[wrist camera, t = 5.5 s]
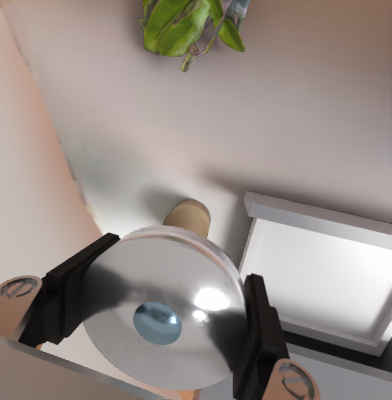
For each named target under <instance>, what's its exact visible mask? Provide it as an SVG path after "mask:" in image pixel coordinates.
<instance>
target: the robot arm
mask: <svg viewBox="0 0 392 400" xmlns="http://www.w3.org/2000/svg"><path fill="white" fill-rule="evenodd" d="M119 240H120V238H119V236H118V235H116V234H112V233H107V234H105V235H104V236H102V237H101V238H99V239H98V240H96V241H95V242H93V243H92V244H90V245H89V246H87V247H86V248H84V249H83V250H81V251H80V252H79V253H77V254H75V255H74V256H72V257H71V258H69V259H68V260H66V261H65V262H63V263H62V264H60V265H59V266H57V267H56V268H54V269H52V270H51V271H49V272H48V273H46V276H45V277H43V278H42V279H40V278H39V277H36V276H30V275H27V276H19V277H15V278H12V279H10V280H7V281H6V282H4V283H2V284H1V285H0V400H171V399H168V398H166V397H163V396H160V395H158V394H155V393H153V392H150V391H147V390H145V389H142V388H140V387H137V386H134V385H132V384H129V383H126V382H124V381H121V380H118V379H116V378H113V377H110V376H108V375H105V374H102V373H100V372H97V371H95V370H92V369H89V368H87V367H84V366H81V365H79V364H76V363H73V362H71V361H68V360H65V359H62V358H60V357H57V356H54V355H51V354H49V353H46V352H43V351H41V350H40V349H41V346H42V344H43V343H45V342H46V341H48V342H51V343H54V344H56V345H58V344H59V343H60V342H61V341H62V340H63V339H64V338H67V337H69V336H70V335H71V334H72V333H73V331H74V330H75V329H76V328H77V327H78V326H79V325H80V324H81V322H82V319H81V315H80V302H81V282H82V279H83V277H84V274H85V272H86V271H87V269H88V268H89V266H90V265H91V264H92V263H93V262H94V261H95V260H96V259H97V258H98V257H99V256H100V255H101V254H103V253H104V252H105V251H106V250H108V249H109V248H110V247H112V246H113V245H114V244H115V243H117V242H118V241H119ZM244 290H245V297H246V310H247V322H248V337H247V340H246V343H245V346H244V348H243V351H242V354H241V357H240V360H239V362H238V365H237V367H236V369H235V370H234V371H233V398H234V399H236V400H320V391H319V388H318V386H317V384H316V382H315V380H314V379H313V377H312V376H311V375H310V373H309V372H308V371H307V370H306V369H305V368H304V367H303V366H301V365H300V364H298V363H297V362H295V361H293V360H290V356H289V353H288V349H287V345H286V342H285V338H284V334H283V331H282V327H281V323H280V320H279V316H278V312H277V309H276V308H275V307H272V306H270V304H269V300H268V296H267V292H266V287H265V283H264V279H263V276H261V275H257V274H254V273H251V275H247V276H246V279H245V282H244Z"/></svg>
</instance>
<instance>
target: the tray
mask: <svg viewBox="0 0 392 400" xmlns="http://www.w3.org/2000/svg"><path fill="white" fill-rule="evenodd" d="M243 202H244V205H245V208H246V210H247V213H248V216H250V217H254V219H253V222H252V226H251V229H250V232H249V236H248V239H247V242H246V246H245V249H244V252H243V256H242V259H241V262H240V266H239V269H238V272H239V274H240V277H241V279H242V282H243V285H244V282H245V279H246V276H247V275H251V273H254V274H257V275H261V276H263V279H264V283H265V287H266V292H267V296H268V300H269V304H270V306H272V307H275V308H276V309H277V312H278V316H279V320H280V323H281V327H282V330H285V331H289V332H292V333H296V334H300V335H303V336H307V337H310V338H314V339H317V340H321V341H324V342H328V343H332V344H335V345H339V346H342V347H346V348H349V349H353V350H356V351H360V352H363V353H367V354H371V355H374V356H378V357H380V356H381V354H382V352H383V351H384V349H385V347H386V345H387V344H388V342H389V340H390V339H391V337H392V224H391V223H386V222H382V221H377V220H373V219H369V218H364V217H360V216H355V215H351V214H347V213H342V212H338V211H333V210H329V209H325V208H320V207H316V206H311V205H307V204H302V203H298V202H294V201H289V200H285V199H280V198H276V197H272V196H267V195H263V194H258V193H254V192H250V191H246V192H245V195H244V199H243Z"/></svg>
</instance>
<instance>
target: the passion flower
mask: <svg viewBox="0 0 392 400" xmlns="http://www.w3.org/2000/svg"><path fill="white" fill-rule="evenodd" d="M249 2H250V0H143V8H144V17H143V19H141V20H140V21H139V23H140V29H141V30H142V31H143V32H144V35H143V37H144V38H143V41H144V42H143V45H144V48H145V49H146V50H148V51H152V52H154V53H155V54H156V55H164V56H171V57H180V56H182V55H184V54H186V53H187V52H188V53H187V55H186V58H185V60H184V61H183V64H182V65H181V69H180V70H181V71H182V72H186V71H187V70H188V69H189V64H190V63H191V61H192V60H193V59H194V58H195V57H197V56H201V55H203V54H205V53H207V52H208V51H209V49H210V47H211V45H212V44H213V43H214V40H215V38H216V37H217V35H219V37H220V39H221V40H222V41H223V42H224V43H225V44H226V45H227V46H228V47H230V48H232V49H234V50H236V51H240V52H244V51H245V46H244V45H243V42H242V39H241V36H240V34H239V31H240V29H241V27H242V24H243V21H244V18H245V15H246V11H247V8H248V5H249ZM233 12H234V14H236V15H237V16H238V17H239V18H238V23H237V25H236V24H235V21H234V16H233ZM210 20H213V22H214V28H215V32H214V34H213V36H212V37H211V39H210V40H209V42H208V44H207V46H206V48H205V50H204V51H203V52H202V53H199V50H198V48H197V46H196V45H195V44H196V42H197V41H198V39H199V38H200V36H201V34H202V33H203V31H204V29H205V28H206V26H207V25H208V22H209V21H210Z"/></svg>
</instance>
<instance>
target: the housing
mask: <svg viewBox="0 0 392 400" xmlns="http://www.w3.org/2000/svg"><path fill="white" fill-rule="evenodd" d="M282 331H283V334H284V338H285V342H286V345H287V349H288V353H289V356H290V360H293V361H295V362H297V363H298V364H300V365H301V366H303V367H304V368H305V369H306V370H307V371H308V372H309V373H310V375H311V376H312V377H313V379H314V380H315V382H316V384H317V386H318V388H319V391H320V400H392V337H391V339H390V340H389V342H388V344H387V345H386V347H385V349H384V351H383V352H382V354H381V356H380V357H378V356H374V355H371V354H367V353H363V352H360V351H356V350H353V349H349V348H346V347H342V346H339V345H335V344H332V343H328V342H324V341H321V340H317V339H314V338H310V337H307V336H303V335H300V334H296V333H292V332H289V331H285V330H282ZM193 400H236V399H234V398H233V372H232V373H231V374H230V375H228V376H227V377H226V378H224V379H223V380H221V381H219V382H218V383H216V384H214V385H211V386H208V387H205V388H201V389H196V390H194V396H193Z"/></svg>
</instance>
